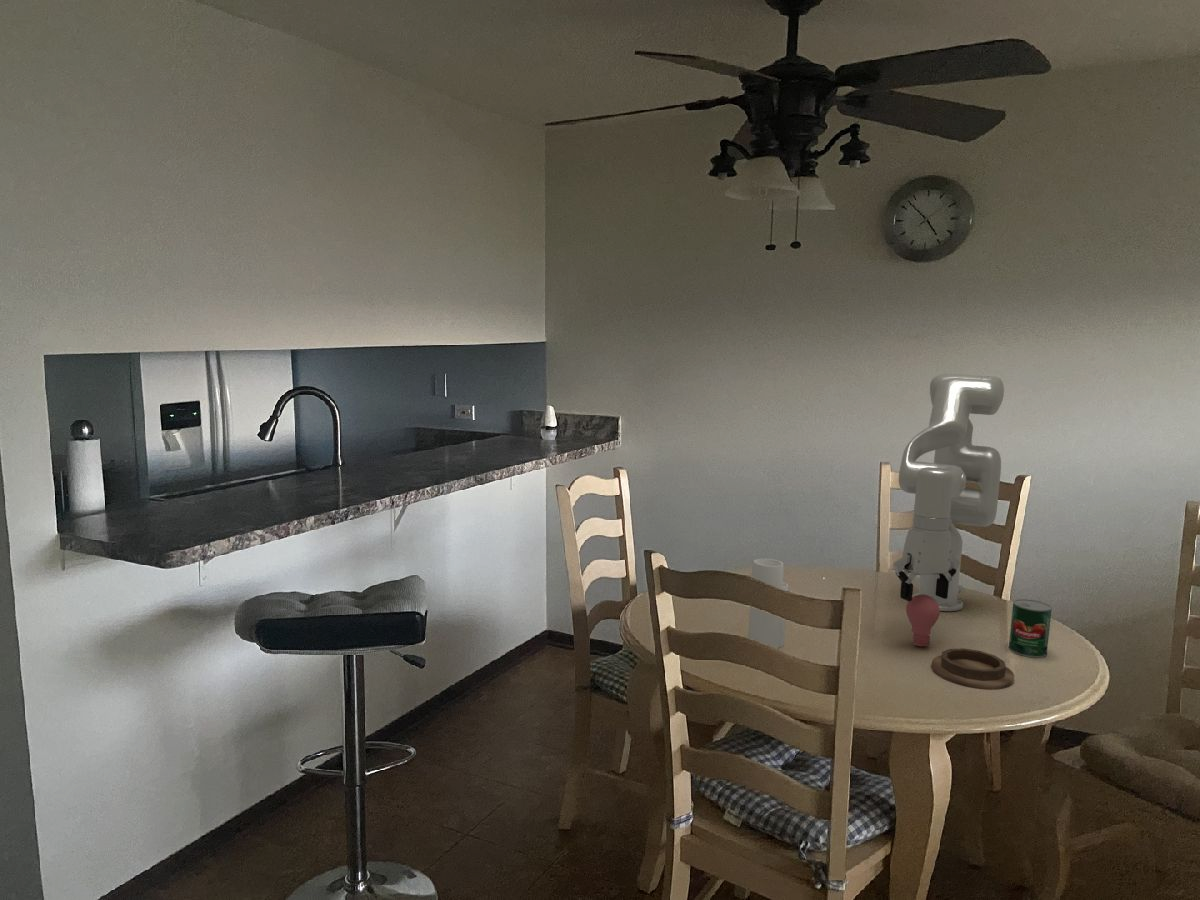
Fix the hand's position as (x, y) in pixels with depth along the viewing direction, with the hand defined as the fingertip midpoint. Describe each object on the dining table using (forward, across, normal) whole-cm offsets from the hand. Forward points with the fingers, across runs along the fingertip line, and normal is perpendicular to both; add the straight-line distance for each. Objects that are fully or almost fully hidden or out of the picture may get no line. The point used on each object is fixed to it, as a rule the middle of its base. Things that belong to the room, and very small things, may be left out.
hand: (923, 598), depth 196 cm
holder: (+12, -1, +15) cm, 19 cm away
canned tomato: (+11, -23, +8) cm, 27 cm away
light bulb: (+12, -1, -1) cm, 12 cm away
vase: (+12, +34, -9) cm, 38 cm away
